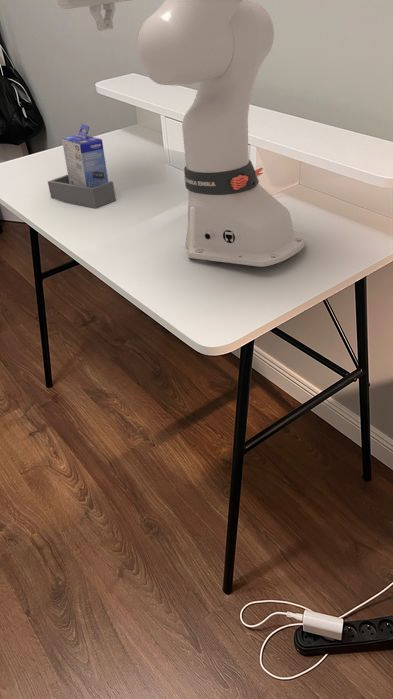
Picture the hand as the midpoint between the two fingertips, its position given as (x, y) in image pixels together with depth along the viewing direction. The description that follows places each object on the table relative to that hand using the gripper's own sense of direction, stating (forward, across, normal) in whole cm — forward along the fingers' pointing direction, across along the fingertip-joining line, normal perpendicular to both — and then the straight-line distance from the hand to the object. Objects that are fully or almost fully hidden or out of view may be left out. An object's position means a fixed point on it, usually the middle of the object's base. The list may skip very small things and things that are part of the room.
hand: (105, 29), depth 129 cm
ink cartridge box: (+31, -13, -2) cm, 34 cm away
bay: (+31, -16, -2) cm, 35 cm away
